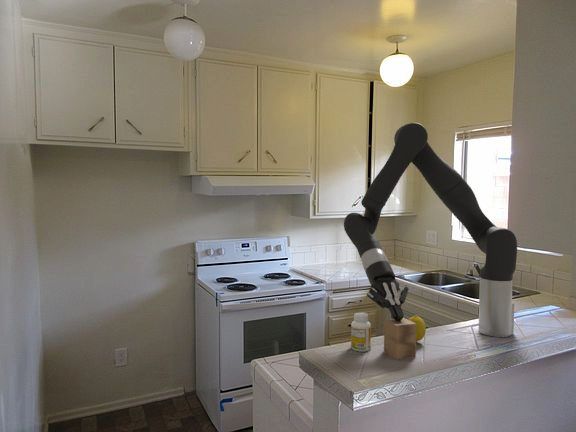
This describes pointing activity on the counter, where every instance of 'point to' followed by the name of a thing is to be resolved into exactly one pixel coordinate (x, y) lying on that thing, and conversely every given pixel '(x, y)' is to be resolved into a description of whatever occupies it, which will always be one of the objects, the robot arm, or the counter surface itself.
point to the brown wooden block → (400, 338)
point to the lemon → (419, 327)
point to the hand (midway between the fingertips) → (399, 319)
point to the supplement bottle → (360, 333)
